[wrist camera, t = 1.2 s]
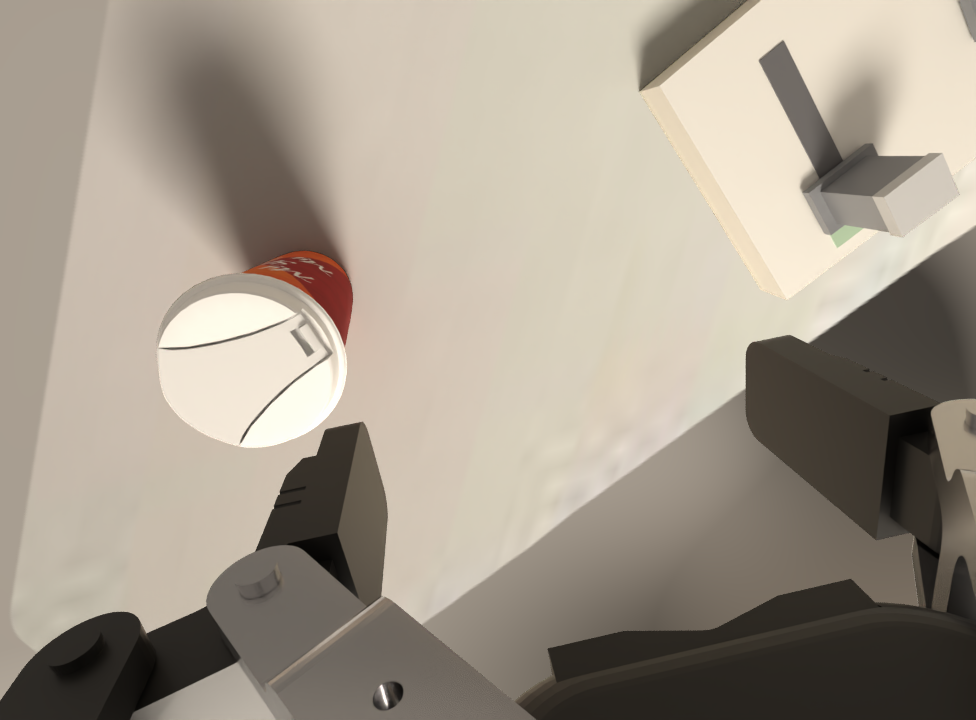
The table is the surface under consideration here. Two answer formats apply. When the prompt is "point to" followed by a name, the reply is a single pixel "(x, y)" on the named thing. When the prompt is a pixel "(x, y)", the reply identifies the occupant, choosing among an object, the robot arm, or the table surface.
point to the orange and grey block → (970, 15)
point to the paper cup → (258, 350)
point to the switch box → (812, 115)
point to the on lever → (881, 192)
